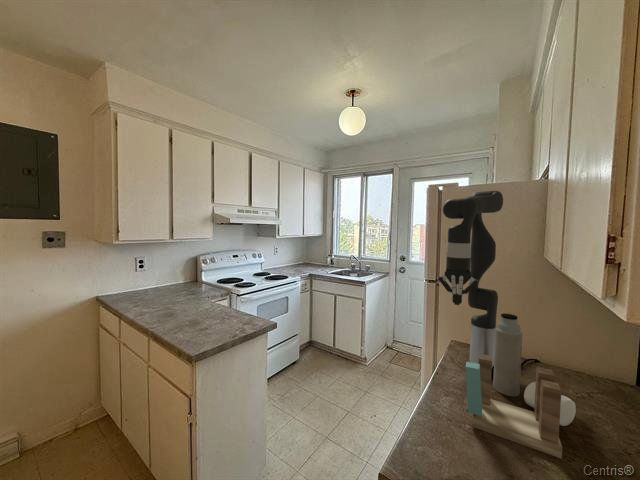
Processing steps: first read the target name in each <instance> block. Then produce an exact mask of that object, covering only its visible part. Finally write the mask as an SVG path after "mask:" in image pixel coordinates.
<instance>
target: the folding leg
mask: <svg viewBox="0 0 640 480" xmlns="http://www.w3.org/2000/svg"><path fill="white" fill-rule="evenodd" d="M465 380H466V395H467V396H466V401H467V404H466V408H465V409H466V410H465V412H466V413H469V414H472V415H473V414H475V415H479V416H482V396H481V378H480V364H477V363H471V362H470V361H466V362H465Z"/></svg>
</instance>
